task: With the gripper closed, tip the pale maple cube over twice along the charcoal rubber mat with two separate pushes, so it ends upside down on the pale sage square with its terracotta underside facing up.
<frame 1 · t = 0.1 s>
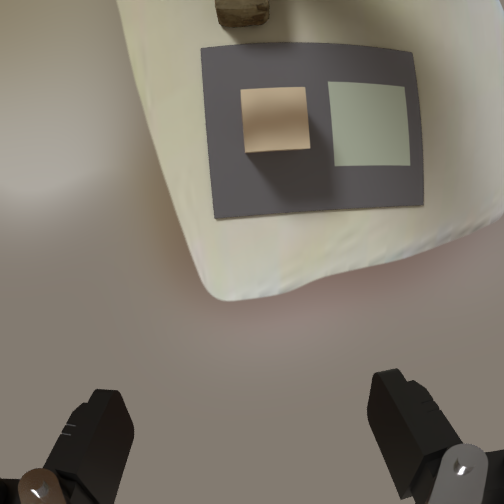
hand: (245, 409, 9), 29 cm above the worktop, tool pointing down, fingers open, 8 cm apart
rubber mat: (322, 123, 34), on the worktop
maple cube: (270, 124, 34), resting on rubber mat
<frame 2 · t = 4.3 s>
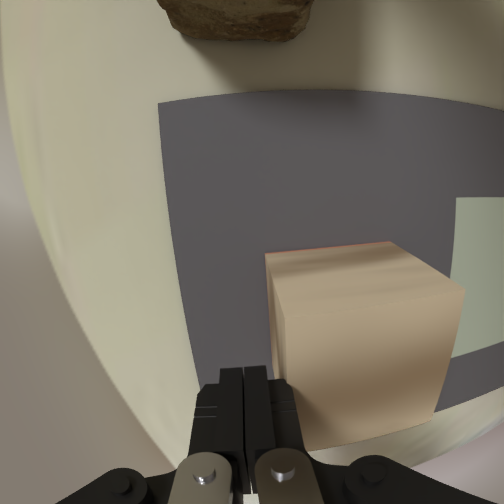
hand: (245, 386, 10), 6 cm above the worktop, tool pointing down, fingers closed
rubber mat: (431, 289, 16), on the worktop
maple cube: (330, 306, 15), resting on rubber mat, touching gripper
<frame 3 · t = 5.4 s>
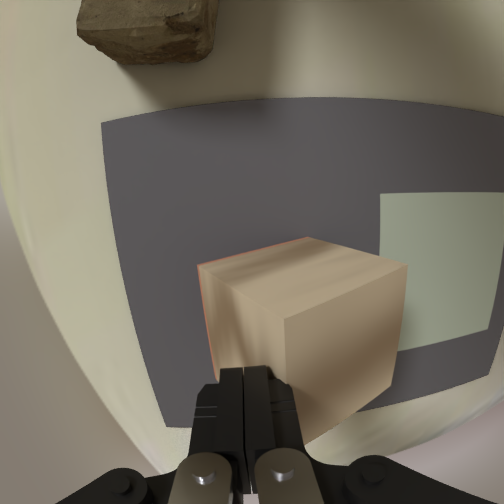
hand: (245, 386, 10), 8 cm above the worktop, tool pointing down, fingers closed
rubber mat: (359, 283, 17), on the worktop
maple cube: (262, 308, 16), point 2 cm above the worktop, tilted 30°, touching gripper, rubber mat
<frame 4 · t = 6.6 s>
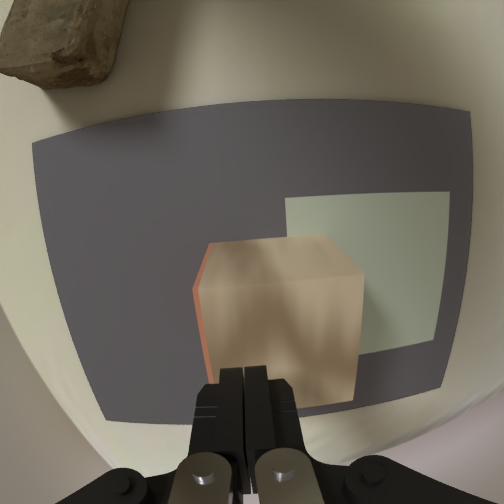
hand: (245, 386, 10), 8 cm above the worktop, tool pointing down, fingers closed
rubber mat: (270, 289, 18), on the worktop
stone block: (93, 6, 13), on the worktop
maple cube: (211, 323, 15), point 3 cm above the worktop, tilted 90°, touching rubber mat
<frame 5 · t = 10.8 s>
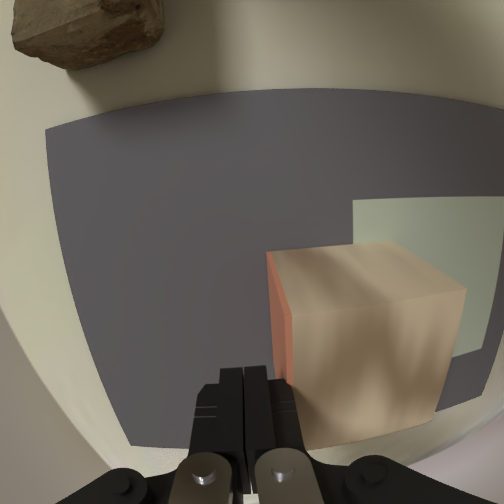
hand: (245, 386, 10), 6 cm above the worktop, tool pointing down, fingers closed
rubber mat: (330, 302, 15), on the worktop
maple cube: (277, 347, 12), point 3 cm above the worktop, tilted 91°, touching gripper, rubber mat
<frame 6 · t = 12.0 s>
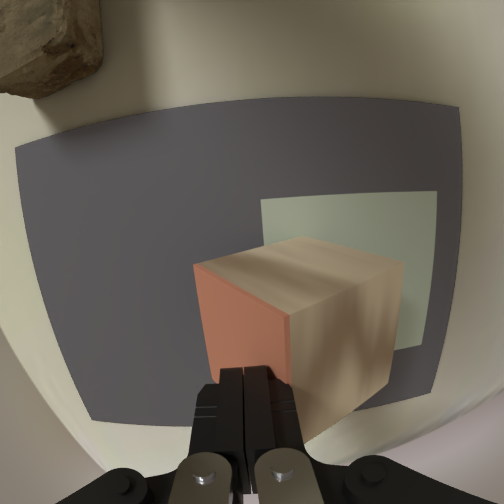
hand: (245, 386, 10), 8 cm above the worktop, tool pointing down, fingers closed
rubber mat: (248, 292, 18), on the worktop
stone block: (64, 14, 13), on the worktop
maple cube: (237, 358, 12), point 6 cm above the worktop, tilted 122°, touching gripper, rubber mat
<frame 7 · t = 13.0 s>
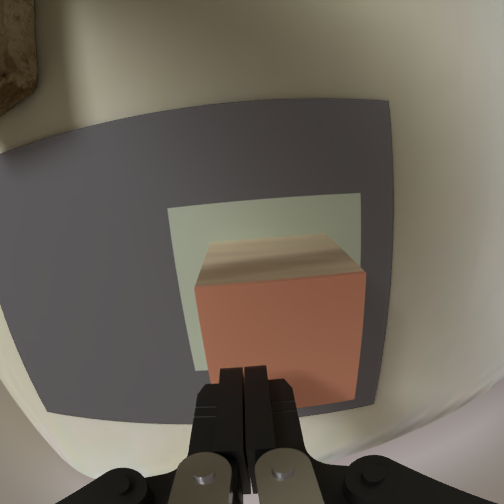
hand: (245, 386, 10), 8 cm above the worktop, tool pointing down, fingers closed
rubber mat: (165, 297, 18), on the worktop
stone block: (9, 42, 13), on the worktop
maple cube: (285, 354, 12), point 6 cm above the worktop, tilted 180°, touching rubber mat
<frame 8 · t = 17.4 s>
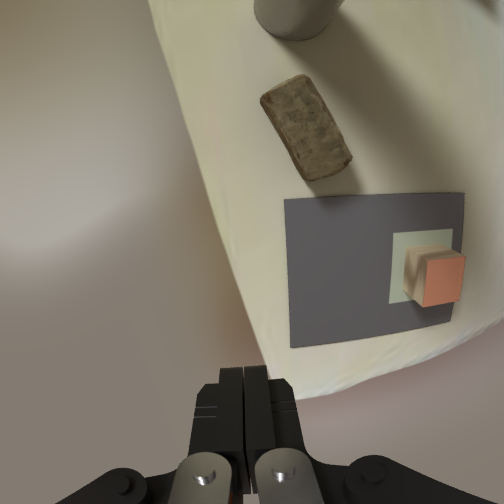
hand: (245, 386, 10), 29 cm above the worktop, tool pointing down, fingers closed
rubber mat: (384, 269, 40), on the worktop
stone block: (301, 131, 36), on the worktop
maple cube: (445, 281, 34), point 6 cm above the worktop, tilted 180°, touching rubber mat
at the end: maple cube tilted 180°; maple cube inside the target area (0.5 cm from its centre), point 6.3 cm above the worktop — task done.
